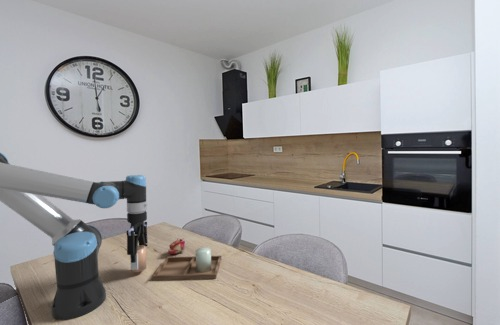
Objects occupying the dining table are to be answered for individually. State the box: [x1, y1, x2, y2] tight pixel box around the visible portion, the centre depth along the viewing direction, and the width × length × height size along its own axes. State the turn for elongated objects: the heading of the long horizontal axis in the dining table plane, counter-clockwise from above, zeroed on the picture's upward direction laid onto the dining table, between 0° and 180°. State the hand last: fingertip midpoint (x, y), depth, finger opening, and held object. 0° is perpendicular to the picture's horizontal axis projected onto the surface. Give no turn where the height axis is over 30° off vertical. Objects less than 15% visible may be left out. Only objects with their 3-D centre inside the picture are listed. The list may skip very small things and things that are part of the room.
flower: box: [167, 238, 186, 255], centre depth 120 cm, size 10×9×8 cm
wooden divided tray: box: [151, 255, 222, 282], centre depth 103 cm, size 17×25×2 cm
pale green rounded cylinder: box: [195, 246, 212, 272], centre depth 103 cm, size 6×6×8 cm
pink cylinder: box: [129, 244, 147, 273], centre depth 103 cm, size 6×6×9 cm
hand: (138, 265), depth 103 cm, fingers closed on pink cylinder, 6 cm apart
